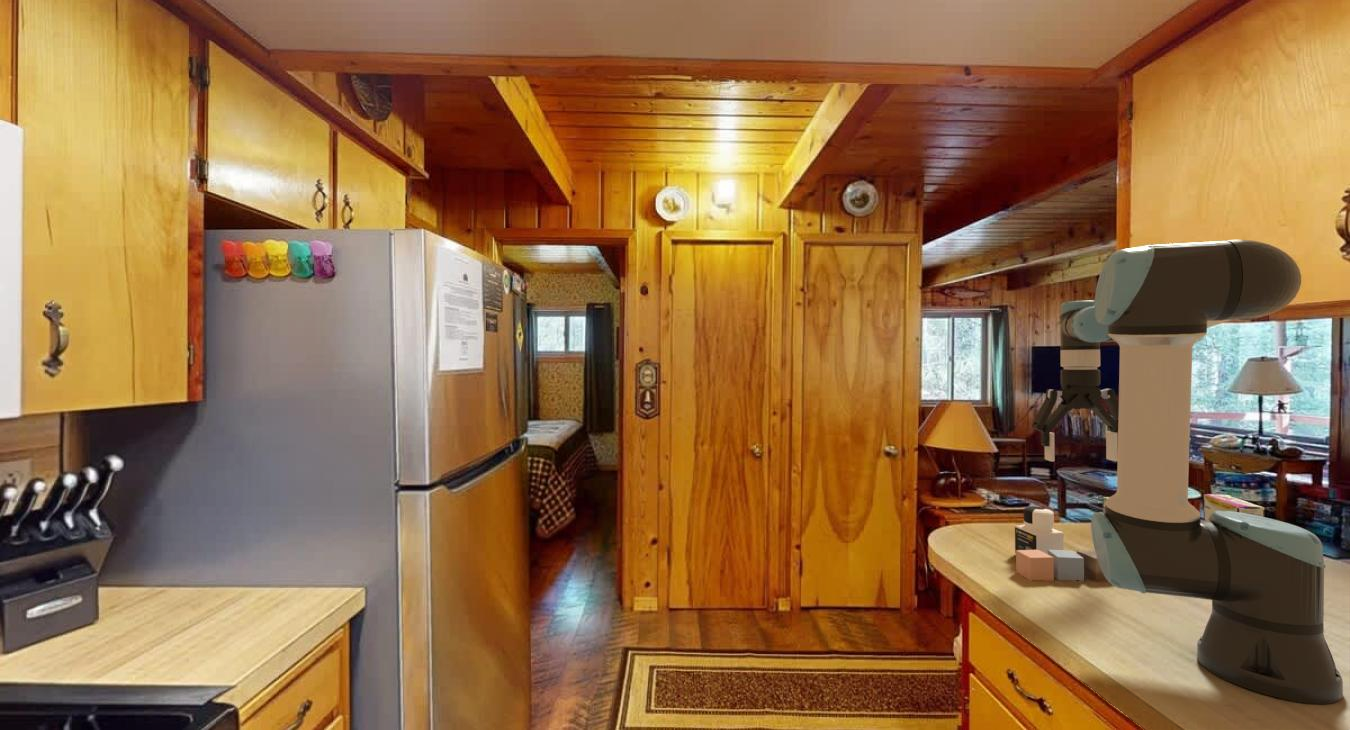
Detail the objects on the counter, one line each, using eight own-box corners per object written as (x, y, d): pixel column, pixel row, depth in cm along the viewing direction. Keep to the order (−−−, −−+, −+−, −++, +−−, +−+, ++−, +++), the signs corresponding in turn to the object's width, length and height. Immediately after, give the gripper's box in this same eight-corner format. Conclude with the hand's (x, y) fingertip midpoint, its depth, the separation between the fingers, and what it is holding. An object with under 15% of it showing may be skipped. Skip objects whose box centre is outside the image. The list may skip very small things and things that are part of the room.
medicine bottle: (1014, 554, 139) (1013, 505, 139) (1041, 553, 140) (1041, 503, 140) (1036, 564, 132) (1035, 512, 132) (1064, 563, 133) (1064, 511, 133)
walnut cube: (1117, 580, 123) (1117, 557, 123) (1095, 581, 122) (1095, 558, 122) (1097, 572, 128) (1097, 549, 128) (1076, 573, 127) (1076, 550, 127)
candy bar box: (1202, 565, 130) (1202, 493, 130) (1228, 567, 129) (1228, 494, 129) (1238, 584, 119) (1237, 505, 119) (1267, 586, 118) (1266, 506, 118)
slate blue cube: (1084, 581, 122) (1083, 558, 122) (1058, 580, 123) (1057, 557, 123) (1072, 573, 127) (1072, 550, 127) (1047, 571, 128) (1047, 549, 128)
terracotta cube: (1053, 580, 123) (1053, 557, 123) (1030, 581, 123) (1030, 557, 123) (1038, 572, 128) (1038, 549, 128) (1016, 572, 128) (1016, 550, 128)
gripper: (1126, 367, 135) (1126, 457, 136) (1015, 368, 137) (1015, 457, 138) (1149, 367, 128) (1150, 463, 128) (1031, 369, 130) (1032, 463, 130)
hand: (1080, 460), depth 133 cm, fingers open, 13 cm apart
